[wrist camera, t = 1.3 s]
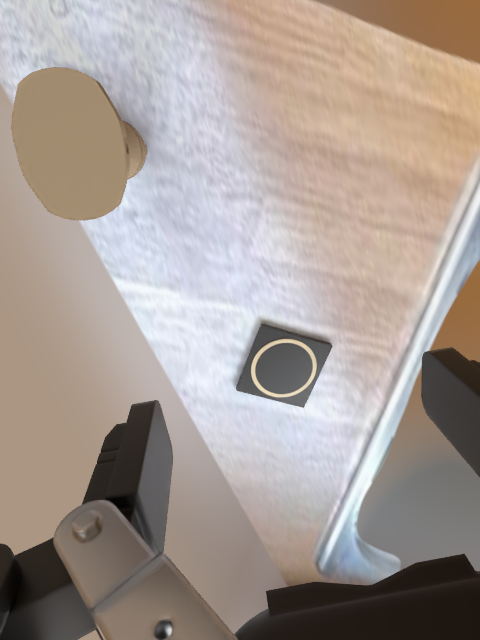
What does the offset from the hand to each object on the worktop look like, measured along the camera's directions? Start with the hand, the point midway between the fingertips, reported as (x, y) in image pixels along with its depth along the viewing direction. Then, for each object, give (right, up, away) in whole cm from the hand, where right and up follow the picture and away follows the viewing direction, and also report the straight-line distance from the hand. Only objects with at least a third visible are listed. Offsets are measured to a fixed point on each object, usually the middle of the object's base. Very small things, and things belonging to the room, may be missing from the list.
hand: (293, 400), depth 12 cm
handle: (-11, +16, +20) cm, 28 cm away
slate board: (+3, -2, +29) cm, 29 cm away
